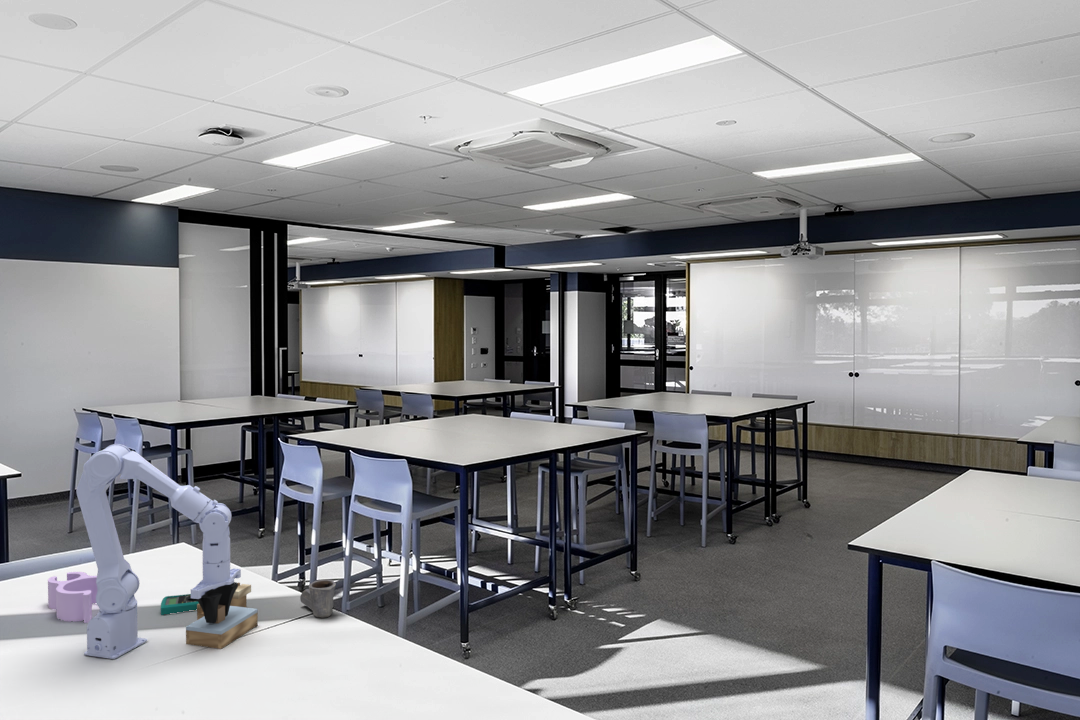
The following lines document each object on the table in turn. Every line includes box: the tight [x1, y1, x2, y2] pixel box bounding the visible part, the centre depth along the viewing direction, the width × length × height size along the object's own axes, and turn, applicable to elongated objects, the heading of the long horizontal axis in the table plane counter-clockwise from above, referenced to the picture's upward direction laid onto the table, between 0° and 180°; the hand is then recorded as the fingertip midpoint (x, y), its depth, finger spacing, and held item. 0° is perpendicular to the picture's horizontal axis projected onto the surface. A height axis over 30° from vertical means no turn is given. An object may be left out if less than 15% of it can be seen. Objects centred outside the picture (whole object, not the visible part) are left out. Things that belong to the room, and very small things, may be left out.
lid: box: [185, 605, 258, 635], centre depth 168 cm, size 13×9×5 cm
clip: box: [47, 571, 98, 624], centre depth 182 cm, size 20×12×7 cm, turn 58°
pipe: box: [299, 579, 337, 619], centre depth 181 cm, size 6×13×8 cm, turn 46°
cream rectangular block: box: [233, 583, 252, 599], centre depth 181 cm, size 5×2×2 cm, turn 166°
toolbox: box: [185, 582, 259, 650], centre depth 172 cm, size 22×11×6 cm, turn 166°
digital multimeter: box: [160, 593, 199, 616], centre depth 185 cm, size 7×15×3 cm, turn 113°
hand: (217, 619), depth 166 cm, fingers open, 3 cm apart
